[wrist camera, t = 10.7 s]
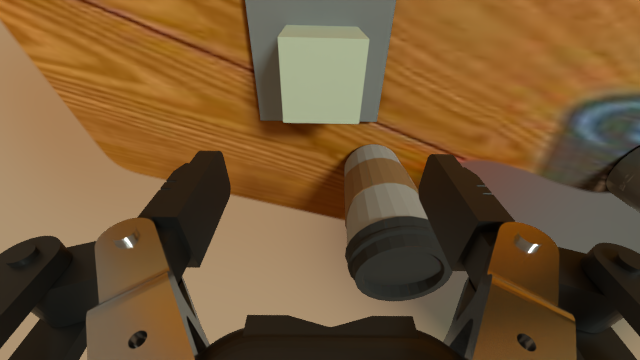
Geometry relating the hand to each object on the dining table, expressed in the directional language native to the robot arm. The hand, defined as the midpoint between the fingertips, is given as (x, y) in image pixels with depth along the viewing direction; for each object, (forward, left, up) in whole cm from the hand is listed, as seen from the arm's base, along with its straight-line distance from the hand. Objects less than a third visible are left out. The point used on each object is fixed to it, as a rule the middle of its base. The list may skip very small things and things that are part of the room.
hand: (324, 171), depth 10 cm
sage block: (0, 0, -17) cm, 17 cm away
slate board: (0, 0, -18) cm, 18 cm away
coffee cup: (-6, +12, -18) cm, 22 cm away
